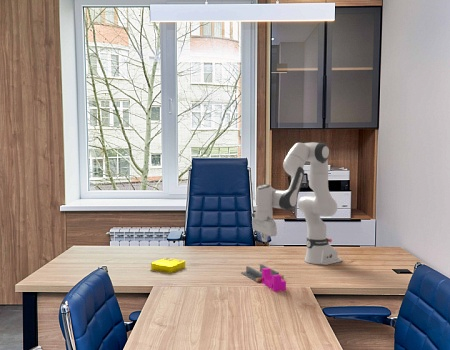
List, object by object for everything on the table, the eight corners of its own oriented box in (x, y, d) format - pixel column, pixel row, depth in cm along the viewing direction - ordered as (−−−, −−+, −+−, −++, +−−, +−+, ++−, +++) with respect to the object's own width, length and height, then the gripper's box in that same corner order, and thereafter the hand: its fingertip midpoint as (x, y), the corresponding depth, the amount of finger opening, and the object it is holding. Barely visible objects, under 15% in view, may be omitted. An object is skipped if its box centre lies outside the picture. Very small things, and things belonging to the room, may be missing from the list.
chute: (266, 269, 263) (266, 263, 263) (283, 278, 247) (283, 272, 246) (241, 273, 256) (241, 267, 256) (257, 282, 240) (257, 275, 240)
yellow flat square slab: (149, 270, 264) (149, 262, 263) (166, 264, 277) (165, 256, 276) (170, 274, 256) (170, 265, 256) (186, 267, 269) (186, 259, 268)
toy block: (285, 290, 228) (286, 275, 228) (274, 291, 226) (274, 276, 226) (273, 281, 242) (273, 267, 242) (262, 282, 240) (262, 268, 240)
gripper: (279, 218, 239) (279, 244, 240) (260, 212, 258) (260, 237, 259) (268, 219, 236) (269, 246, 238) (249, 213, 255) (250, 238, 256)
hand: (264, 241), depth 248 cm, fingers closed
